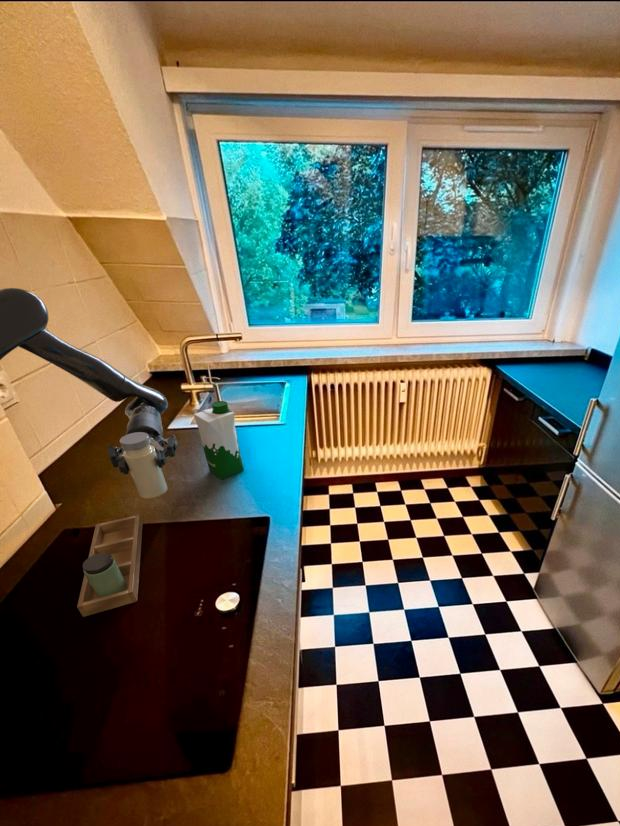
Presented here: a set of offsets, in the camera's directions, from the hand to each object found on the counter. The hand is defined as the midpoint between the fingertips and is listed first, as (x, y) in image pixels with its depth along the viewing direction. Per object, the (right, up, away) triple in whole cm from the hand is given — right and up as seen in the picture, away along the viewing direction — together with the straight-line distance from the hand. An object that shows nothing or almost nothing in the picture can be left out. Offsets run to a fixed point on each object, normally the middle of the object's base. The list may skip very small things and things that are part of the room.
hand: (142, 467), depth 78 cm
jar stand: (-6, -21, +2) cm, 22 cm away
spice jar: (-3, -24, -4) cm, 25 cm away
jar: (-1, -5, +6) cm, 8 cm away
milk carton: (+5, 0, +34) cm, 34 cm away
